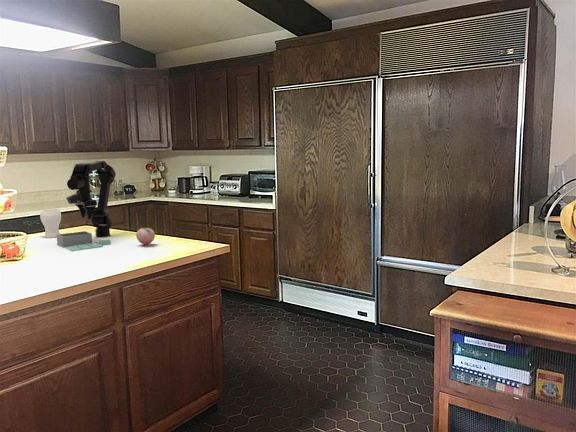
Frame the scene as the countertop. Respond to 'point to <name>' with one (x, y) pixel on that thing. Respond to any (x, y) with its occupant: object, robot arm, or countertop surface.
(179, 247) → the countertop surface
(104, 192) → the robot arm
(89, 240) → the tub
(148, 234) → the decorative fruit
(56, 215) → the cup
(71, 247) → the lid
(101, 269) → the countertop surface
